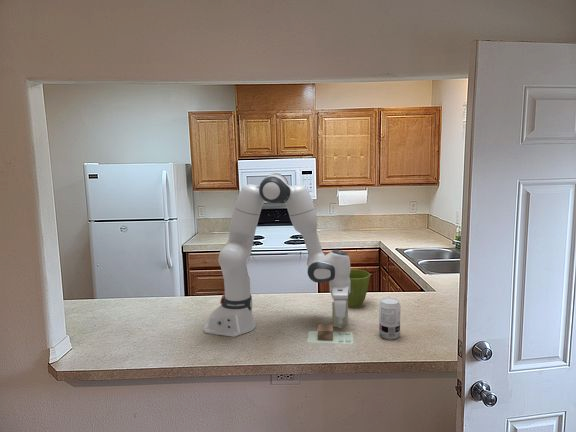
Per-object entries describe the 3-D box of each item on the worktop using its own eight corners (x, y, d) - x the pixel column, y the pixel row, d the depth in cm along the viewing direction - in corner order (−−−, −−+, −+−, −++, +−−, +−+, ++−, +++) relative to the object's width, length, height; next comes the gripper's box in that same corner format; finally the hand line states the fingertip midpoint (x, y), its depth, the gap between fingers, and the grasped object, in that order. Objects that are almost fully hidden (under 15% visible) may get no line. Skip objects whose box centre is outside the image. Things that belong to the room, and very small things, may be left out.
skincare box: (339, 324, 178) (339, 297, 176) (348, 326, 175) (348, 299, 173) (331, 329, 174) (331, 302, 172) (340, 331, 171) (340, 304, 169)
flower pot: (332, 305, 200) (332, 274, 197) (351, 297, 209) (351, 267, 207) (356, 313, 189) (356, 280, 186) (375, 304, 199) (376, 273, 196)
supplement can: (375, 333, 169) (375, 299, 166) (392, 329, 171) (392, 296, 169) (386, 341, 161) (387, 306, 159) (404, 337, 164) (404, 302, 161)
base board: (307, 345, 159) (307, 340, 159) (309, 334, 169) (309, 329, 169) (353, 347, 157) (353, 342, 157) (352, 335, 167) (352, 330, 167)
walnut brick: (317, 340, 161) (317, 330, 160) (318, 333, 167) (318, 324, 166) (332, 340, 160) (332, 331, 159) (333, 333, 166) (332, 324, 165)
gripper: (332, 280, 182) (333, 309, 184) (332, 296, 162) (332, 329, 164) (346, 280, 181) (347, 309, 184) (348, 296, 161) (348, 329, 164)
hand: (340, 318), depth 174 cm, fingers closed on skincare box, 7 cm apart
